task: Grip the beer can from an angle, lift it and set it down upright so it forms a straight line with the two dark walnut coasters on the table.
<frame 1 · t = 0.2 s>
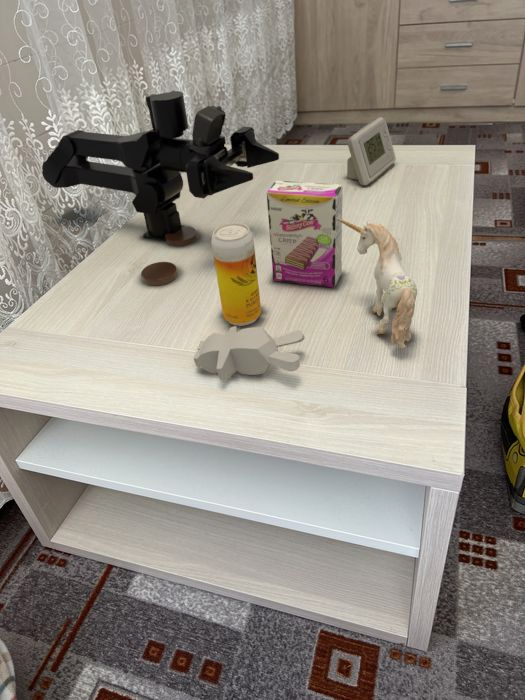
hand: (266, 166, 92), 17 cm above the table, tool horizontal, fingers open, 9 cm apart
candy bar box: (307, 279, 95), on the table
coaster far: (181, 239, 111), on the table
coaster near: (160, 276, 100), on the table
beer can: (242, 317, 88), on the table
digital clock: (371, 174, 128), on the table
bunny figurine: (250, 366, 78), on the table
unicorn figurine: (369, 322, 84), on the table
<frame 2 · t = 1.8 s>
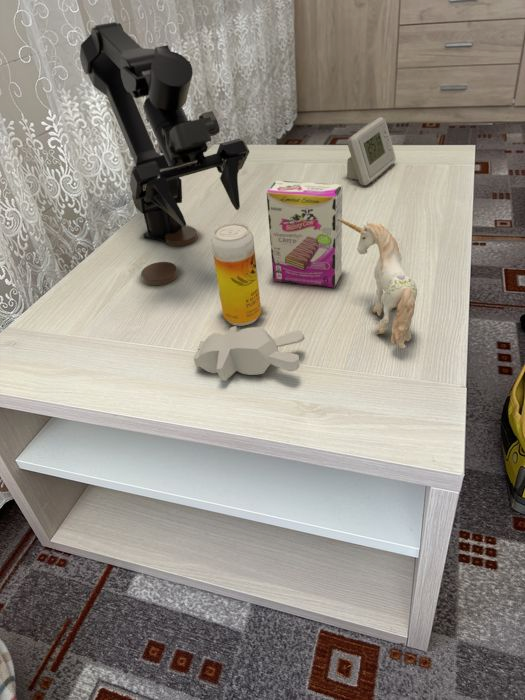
hand: (211, 217, 85), 14 cm above the table, tool tilted 45°, fingers open, 9 cm apart
nothing on the table moved.
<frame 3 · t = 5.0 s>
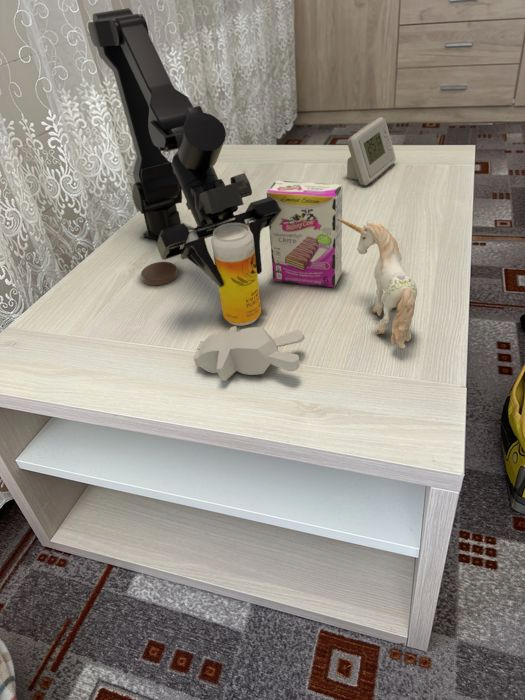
hand: (241, 279, 82), 8 cm above the table, tool tilted 45°, fingers closed on beer can, 6 cm apart
beer can: (242, 317, 88), on the table, touching gripper
everything else where it was.
when the fingers open (8 cm above the table, at t = 11.7 s): beer can stays where it is, on the table.
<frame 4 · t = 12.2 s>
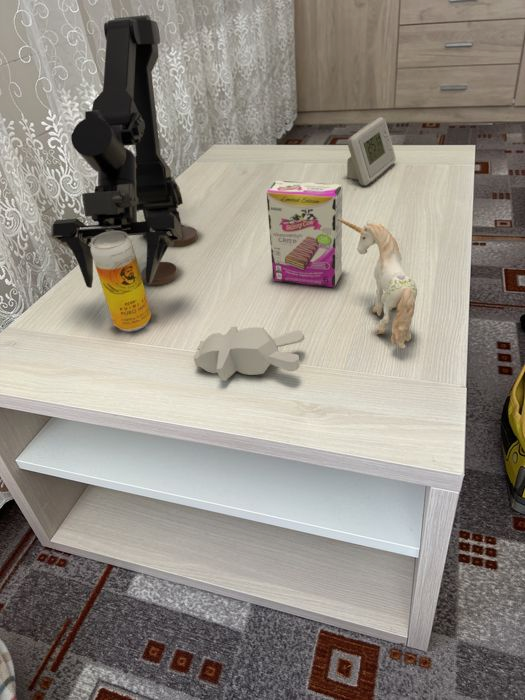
hand: (118, 285, 83), 8 cm above the table, tool tilted 45°, fingers open, 9 cm apart
beer can: (133, 323, 89), on the table
everything else where it was.
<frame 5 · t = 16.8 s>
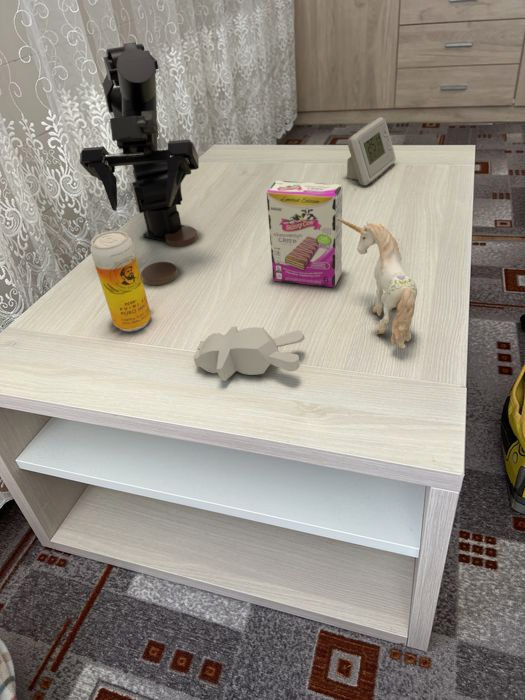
hand: (141, 208, 91), 14 cm above the table, tool tilted 45°, fingers open, 9 cm apart
nothing on the table moved.
at the end: beer can 0.1 cm from the target spot on the table beside the coaster far, on the table; beer can tilted 0°; the gripper is holding nothing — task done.
